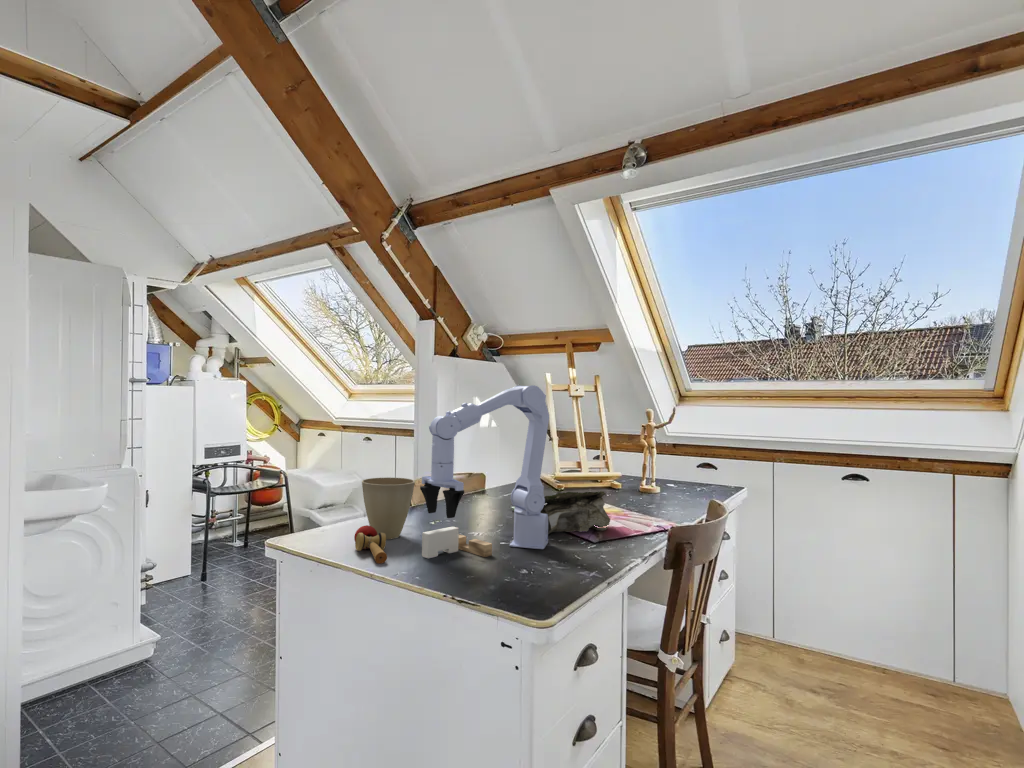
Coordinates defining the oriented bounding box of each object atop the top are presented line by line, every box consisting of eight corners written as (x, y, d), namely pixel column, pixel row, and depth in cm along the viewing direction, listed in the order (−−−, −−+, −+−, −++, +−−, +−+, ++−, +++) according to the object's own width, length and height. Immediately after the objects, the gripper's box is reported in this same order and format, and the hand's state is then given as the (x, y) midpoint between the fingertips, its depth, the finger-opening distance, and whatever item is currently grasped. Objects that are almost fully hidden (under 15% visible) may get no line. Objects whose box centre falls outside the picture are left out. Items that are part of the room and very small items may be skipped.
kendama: (399, 566, 135) (379, 539, 151) (396, 542, 134) (376, 517, 150) (368, 576, 132) (350, 547, 147) (364, 552, 131) (347, 525, 146)
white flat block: (458, 551, 145) (458, 528, 145) (427, 558, 138) (428, 534, 138) (451, 549, 147) (452, 526, 147) (421, 556, 140) (422, 532, 140)
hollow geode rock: (529, 551, 164) (545, 522, 154) (517, 515, 172) (531, 485, 163) (609, 540, 175) (629, 513, 165) (594, 507, 183) (611, 478, 174)
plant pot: (407, 544, 151) (409, 485, 151) (353, 542, 151) (355, 484, 151) (417, 530, 166) (419, 477, 166) (368, 529, 166) (370, 476, 166)
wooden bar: (491, 555, 142) (492, 543, 142) (484, 557, 140) (485, 545, 140) (451, 542, 153) (451, 532, 153) (444, 544, 151) (444, 533, 151)
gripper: (413, 460, 145) (411, 512, 145) (449, 466, 135) (447, 522, 135) (434, 458, 150) (432, 509, 150) (470, 464, 140) (468, 518, 140)
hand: (441, 515), depth 143 cm, fingers open, 7 cm apart
